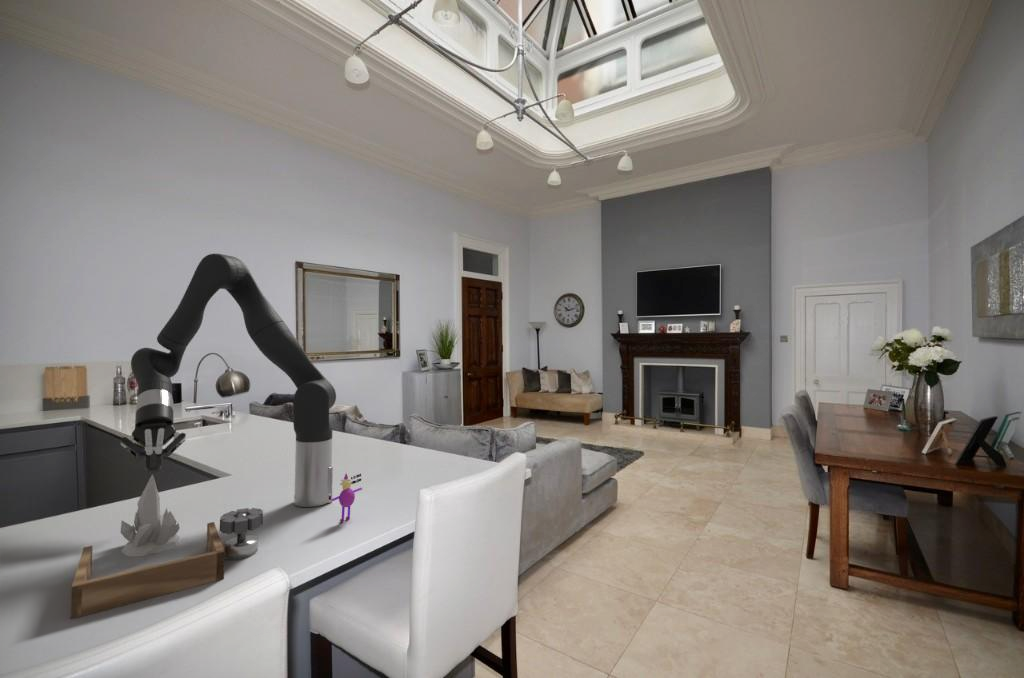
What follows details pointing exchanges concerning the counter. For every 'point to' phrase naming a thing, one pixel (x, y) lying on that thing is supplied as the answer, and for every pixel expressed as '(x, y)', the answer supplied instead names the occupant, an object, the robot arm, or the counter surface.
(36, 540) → the counter surface
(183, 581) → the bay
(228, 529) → the wheel
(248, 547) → the axle mount
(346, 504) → the wizard figurine
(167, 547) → the crystal
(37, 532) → the counter surface
